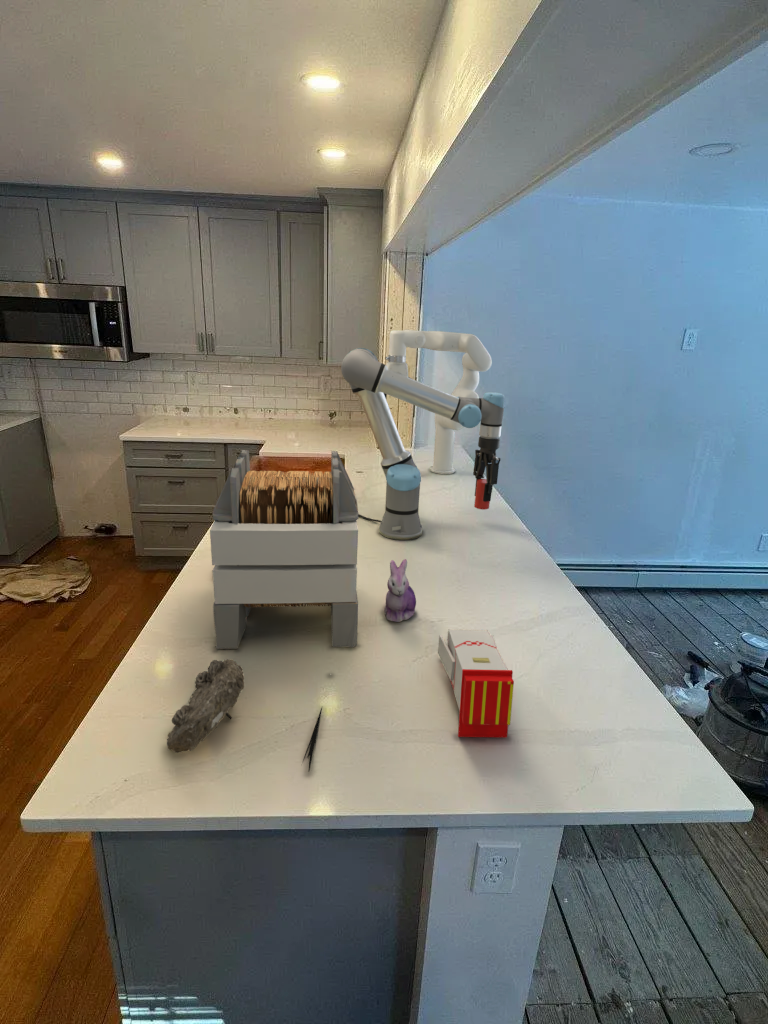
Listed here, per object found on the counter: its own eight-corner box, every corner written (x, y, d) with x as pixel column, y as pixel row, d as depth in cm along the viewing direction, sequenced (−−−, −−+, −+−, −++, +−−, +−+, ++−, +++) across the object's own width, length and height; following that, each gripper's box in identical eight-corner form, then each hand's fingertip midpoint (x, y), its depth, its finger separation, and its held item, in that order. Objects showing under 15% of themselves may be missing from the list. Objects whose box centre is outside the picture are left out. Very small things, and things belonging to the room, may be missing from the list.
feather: (331, 679, 122) (336, 673, 122) (307, 777, 96) (313, 769, 95) (324, 675, 122) (329, 669, 121) (298, 772, 95) (304, 764, 95)
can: (485, 510, 208) (488, 484, 205) (471, 507, 211) (474, 481, 207) (491, 506, 212) (494, 480, 209) (477, 503, 215) (480, 477, 212)
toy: (488, 613, 130) (523, 677, 101) (484, 667, 133) (517, 744, 104) (435, 612, 130) (455, 676, 101) (432, 666, 133) (451, 743, 103)
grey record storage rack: (234, 582, 160) (226, 440, 146) (350, 581, 163) (353, 443, 150) (213, 651, 128) (201, 478, 114) (357, 647, 132) (363, 480, 118)
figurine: (392, 627, 141) (395, 572, 136) (374, 608, 149) (376, 556, 144) (425, 619, 145) (429, 566, 140) (405, 601, 154) (408, 550, 149)
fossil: (192, 660, 117) (244, 628, 112) (224, 691, 120) (276, 661, 115) (142, 746, 98) (202, 712, 93) (182, 779, 101) (242, 748, 96)
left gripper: (513, 442, 196) (504, 505, 204) (485, 431, 212) (478, 490, 220) (494, 443, 193) (486, 507, 201) (467, 431, 209) (461, 491, 217)
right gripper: (380, 360, 244) (378, 400, 250) (418, 361, 248) (415, 400, 254) (376, 358, 251) (374, 397, 257) (413, 359, 255) (411, 397, 261)
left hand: (482, 498), depth 210 cm, fingers closed on can, 5 cm apart
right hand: (395, 398), depth 255 cm, fingers open, 9 cm apart
